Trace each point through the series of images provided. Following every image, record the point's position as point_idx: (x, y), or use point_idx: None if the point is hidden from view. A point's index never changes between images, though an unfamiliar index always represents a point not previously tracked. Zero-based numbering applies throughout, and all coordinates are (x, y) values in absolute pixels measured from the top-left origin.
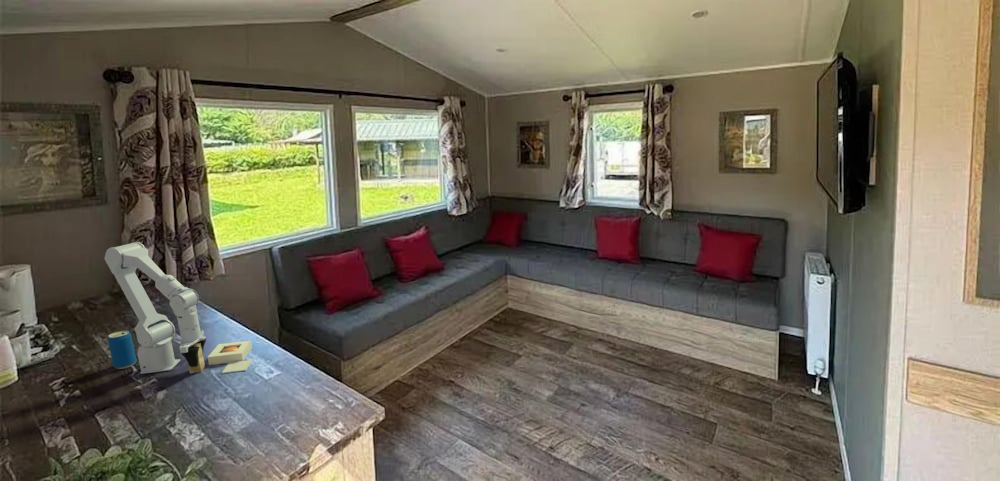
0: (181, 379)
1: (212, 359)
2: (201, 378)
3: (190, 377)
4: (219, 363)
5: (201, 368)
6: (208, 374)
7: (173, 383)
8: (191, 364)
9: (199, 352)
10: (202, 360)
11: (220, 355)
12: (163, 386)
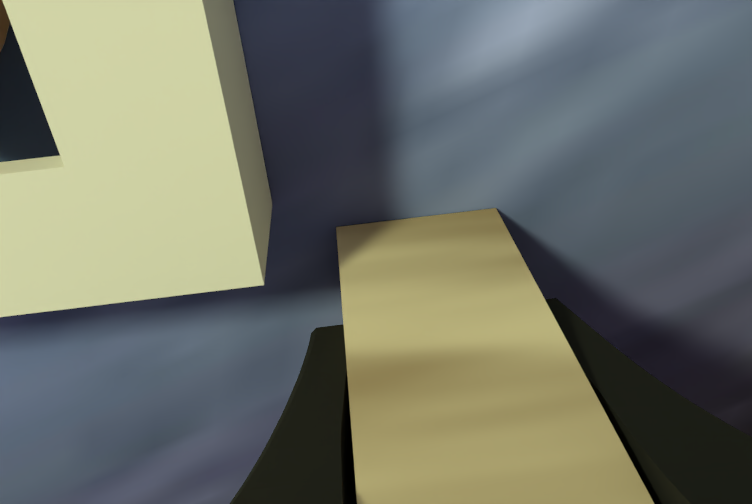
0: (647, 344)
1: (254, 181)
2: (742, 98)
3: (632, 269)
4: (239, 40)
5: (482, 232)
6: (635, 48)
7: (721, 375)
8: None
9: (523, 448)
10: (406, 303)
11: (196, 41)
12: (748, 430)
